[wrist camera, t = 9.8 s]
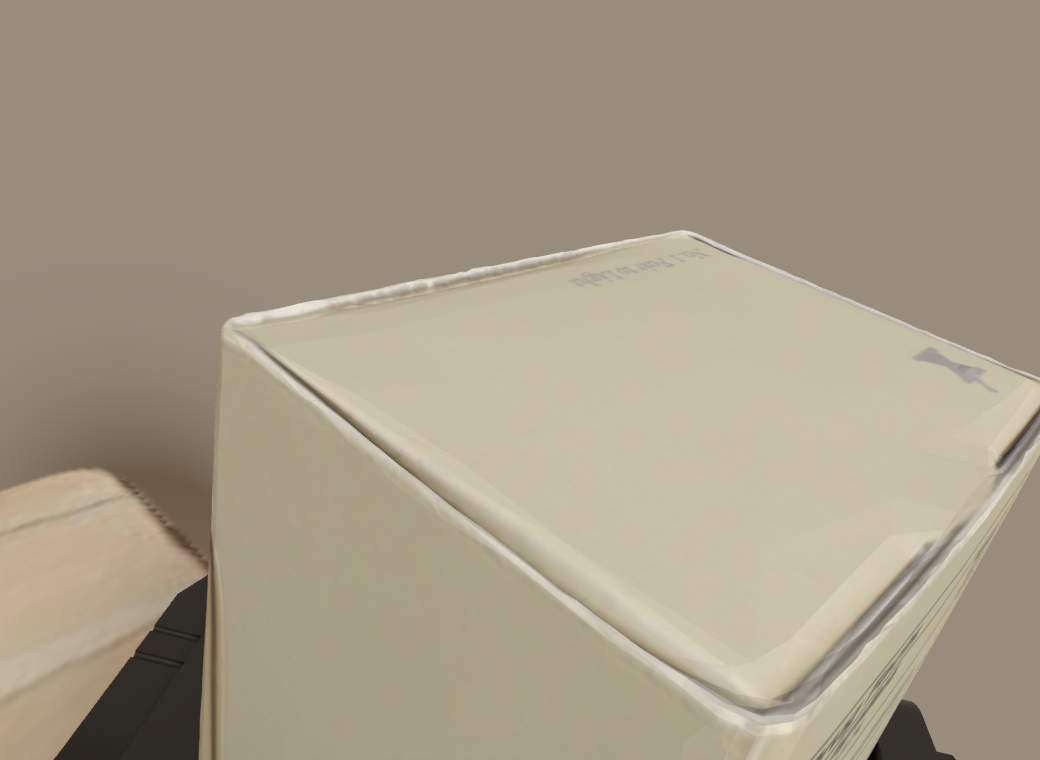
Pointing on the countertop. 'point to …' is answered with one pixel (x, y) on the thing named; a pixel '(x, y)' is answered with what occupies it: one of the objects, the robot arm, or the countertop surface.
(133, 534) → the countertop surface
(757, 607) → the skincare box
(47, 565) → the countertop surface
